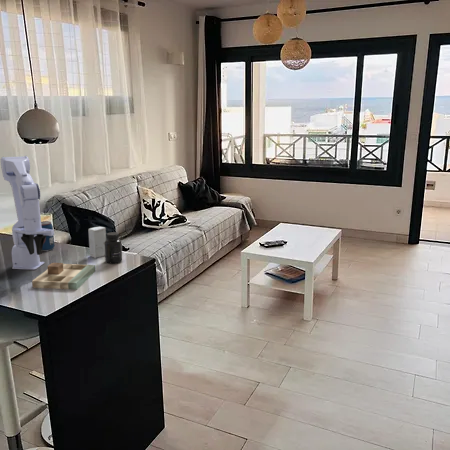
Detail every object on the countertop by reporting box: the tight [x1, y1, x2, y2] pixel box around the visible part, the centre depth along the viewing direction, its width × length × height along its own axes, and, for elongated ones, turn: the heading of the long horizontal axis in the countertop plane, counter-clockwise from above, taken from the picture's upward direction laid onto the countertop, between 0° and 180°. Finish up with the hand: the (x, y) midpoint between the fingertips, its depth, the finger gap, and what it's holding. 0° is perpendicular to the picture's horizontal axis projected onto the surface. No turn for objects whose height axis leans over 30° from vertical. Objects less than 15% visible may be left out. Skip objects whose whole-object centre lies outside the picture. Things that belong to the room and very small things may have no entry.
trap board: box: [31, 263, 97, 291], centre depth 165 cm, size 16×18×2 cm
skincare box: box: [88, 225, 107, 259], centre depth 190 cm, size 6×4×12 cm
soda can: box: [41, 220, 56, 252], centre depth 198 cm, size 7×7×12 cm
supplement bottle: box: [104, 231, 123, 265], centre depth 182 cm, size 7×7×12 cm
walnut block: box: [47, 262, 64, 275], centre depth 164 cm, size 4×4×3 cm
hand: (35, 253), depth 163 cm, fingers open, 2 cm apart
